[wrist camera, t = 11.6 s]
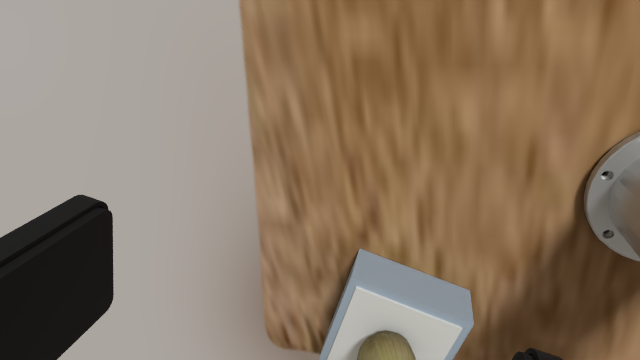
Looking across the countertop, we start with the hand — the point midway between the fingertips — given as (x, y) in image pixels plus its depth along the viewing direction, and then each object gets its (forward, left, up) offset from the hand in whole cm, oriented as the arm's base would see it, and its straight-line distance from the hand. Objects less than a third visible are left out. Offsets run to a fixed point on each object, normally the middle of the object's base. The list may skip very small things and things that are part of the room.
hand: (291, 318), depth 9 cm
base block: (-8, +24, -30) cm, 39 cm away
